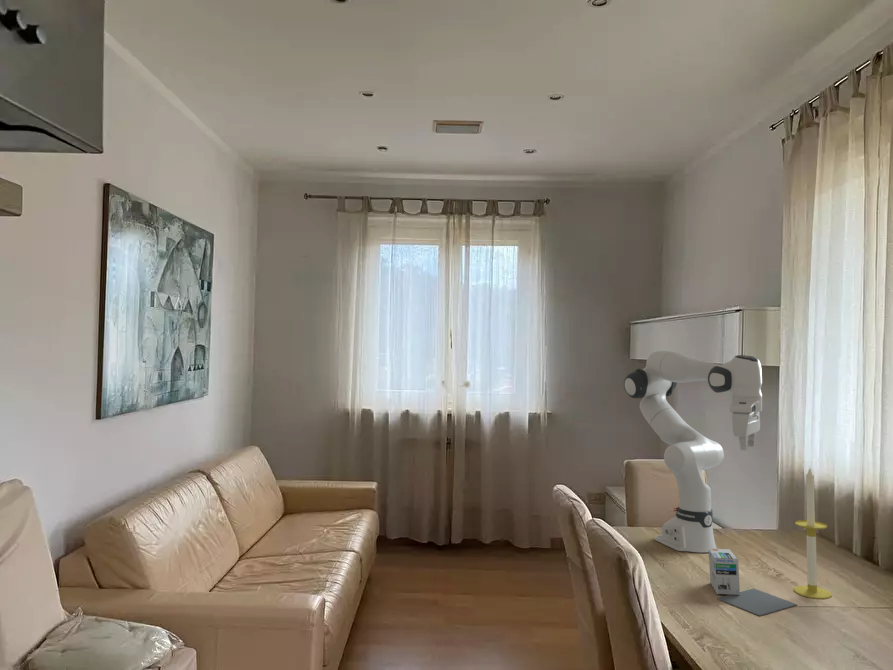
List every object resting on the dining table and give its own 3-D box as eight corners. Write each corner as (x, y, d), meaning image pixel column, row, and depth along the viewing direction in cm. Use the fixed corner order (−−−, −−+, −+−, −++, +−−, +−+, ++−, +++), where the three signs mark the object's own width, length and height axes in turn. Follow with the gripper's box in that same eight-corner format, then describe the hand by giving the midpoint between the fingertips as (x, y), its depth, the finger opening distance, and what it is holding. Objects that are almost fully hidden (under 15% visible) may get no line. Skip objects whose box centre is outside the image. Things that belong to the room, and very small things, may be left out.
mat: (717, 599, 189) (717, 597, 189) (753, 589, 196) (753, 588, 196) (759, 616, 176) (759, 615, 176) (797, 605, 184) (797, 604, 184)
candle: (836, 600, 187) (833, 470, 188) (797, 597, 190) (794, 468, 191) (826, 588, 196) (824, 464, 197) (790, 585, 199) (787, 463, 200)
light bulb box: (740, 595, 190) (739, 558, 191) (716, 594, 191) (714, 557, 192) (732, 583, 200) (730, 548, 201) (709, 582, 202) (707, 547, 202)
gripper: (744, 402, 220) (745, 443, 220) (728, 407, 204) (729, 451, 204) (764, 403, 216) (765, 445, 216) (750, 408, 200) (750, 453, 200)
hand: (747, 448), depth 210 cm, fingers open, 8 cm apart
